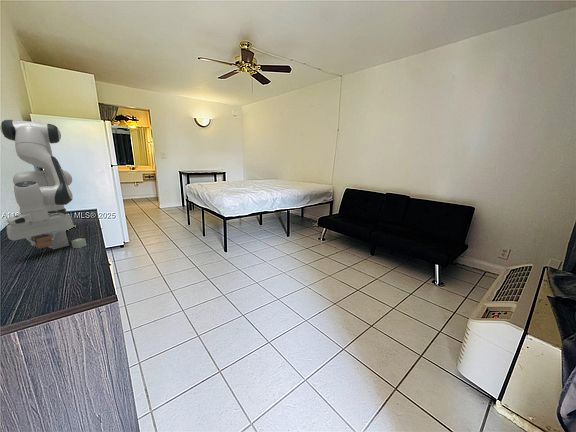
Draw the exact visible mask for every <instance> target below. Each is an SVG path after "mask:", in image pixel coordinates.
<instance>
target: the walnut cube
mask: <svg viewBox="0 0 576 432" xmlns="http://www.w3.org/2000/svg"><path fill="white" fill-rule="evenodd" d="M32 241H36V244H37V245H34V246H35V248H37V249H43V248H49V247H48V246H52V245H53V243H52V239H51V236H50V235H47V234H45V235H37V236H33V237H32Z"/></svg>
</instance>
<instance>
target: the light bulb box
mask: <svg viewBox="0 0 576 432" xmlns="http://www.w3.org/2000/svg"><path fill="white" fill-rule="evenodd" d="M66 232H67V231H65V230H60V231H56V235H55V237H54V239H55V241H52V243H53V245H52V246H48V247H47V248H48V249H52V250H56V249H61V248H64V247H68V246H70V243H69V240H68V236H67V233H66ZM42 235H45V234H42ZM47 235H50V236H51V235H52V234H51V233H47Z"/></svg>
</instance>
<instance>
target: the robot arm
mask: <svg viewBox="0 0 576 432" xmlns="http://www.w3.org/2000/svg"><path fill="white" fill-rule="evenodd" d="M0 133H1V134H2V135H3V137H4V138H5V139H8V140H9V141H13V142H14V144H15V145H14V147H15V152H16V155H17V157H18V158H19V159H20V160H21V161H22V162H25V163H27V164H29V165H32V166H34V167H37V168H41V169H42V170H30V171H29V170H28V171H23V172H22V171H21V172H17V173H15V174H14V175H13V177H12V183H13V192H14V197H15V201H16V203H17V205H18V207H19V214H16V215H14V216H11V217H8V218H7V219H6V222H7V223H8V224H7V226H6V235H7V237H8V239H9V241H10V240H11V241H14V242H15V241H18V240H23V239H25V240H27V241H28V242H30V244H31V246H33V247H34V246H35V245H37V244H36V241H34V240H33V237H36V236H41V235H42V234H47V233H51V234H52V235H51V239H52V241H55V239H54V237H55V235H56V231H60V230H65V232H67V231H66V230H68V231H70V230H69V229H71V228H73V227H75V228H77V227H76V226H77V225H76V224H75V225H74V223H73V220H72V217H71V215H68V212H67V209H66V208H65V205H68V204H69V203H71V201H73V197H74V196H73V193H72V190H71V189H70V187H69V186H71V184H72V182H73V177H72V175H71V174H70V173H69V172H68V171H66V170H64V169H62V166H61V164H60V162H59V160H58V159H57V157H55V156H53V151H52V147H51V144H57V143H59V142H61V141H60V140H61V138H62V133H61V131H60V129H59V128H58V127H57V126H56V125H55V124H52V123H44V122H38V121H34V120H33V121H31V120H29V121H28V120H13V119H5V120H2V121H1V123H0ZM73 229H74V228H73ZM71 230H72V229H71Z"/></svg>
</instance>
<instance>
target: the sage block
mask: <svg viewBox="0 0 576 432" xmlns="http://www.w3.org/2000/svg"><path fill="white" fill-rule="evenodd" d="M86 240H87V239H86V238H83V237H82V238H80V237H79V238H76V239H73V240H71V245H72V249H80V248H84V247H86V246H87V241H86Z"/></svg>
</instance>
